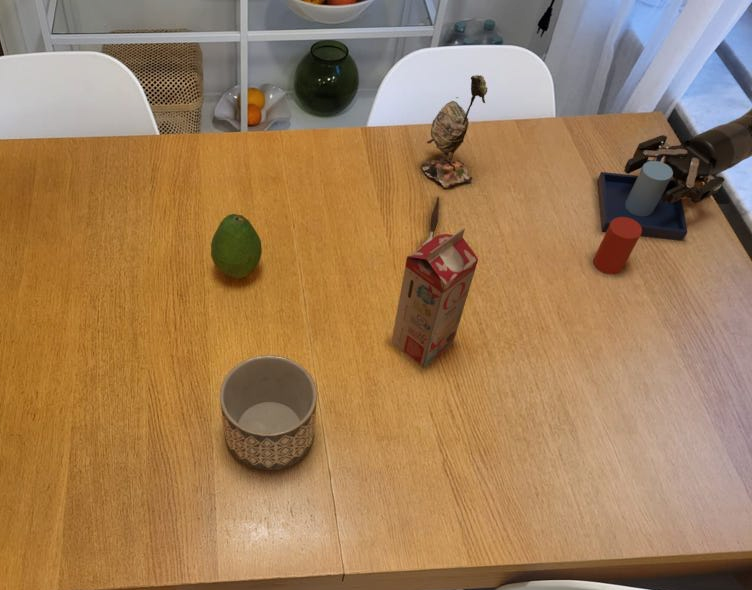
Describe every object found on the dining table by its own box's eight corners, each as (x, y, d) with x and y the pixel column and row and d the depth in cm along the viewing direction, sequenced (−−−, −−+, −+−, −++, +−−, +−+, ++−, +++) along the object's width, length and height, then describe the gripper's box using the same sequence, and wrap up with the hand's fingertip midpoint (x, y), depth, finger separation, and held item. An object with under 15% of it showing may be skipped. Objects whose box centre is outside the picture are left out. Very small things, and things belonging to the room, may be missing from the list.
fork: (445, 200, 133) (447, 191, 132) (434, 264, 125) (436, 255, 123) (430, 197, 134) (432, 189, 132) (418, 261, 125) (420, 253, 123)
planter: (211, 415, 108) (205, 374, 100) (291, 385, 111) (292, 342, 103) (245, 488, 102) (242, 449, 93) (329, 454, 104) (333, 414, 96)
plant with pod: (453, 147, 142) (475, 47, 125) (475, 186, 135) (501, 87, 119) (412, 153, 141) (429, 54, 124) (432, 193, 134) (453, 94, 118)
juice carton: (452, 344, 115) (483, 240, 97) (423, 368, 113) (449, 266, 94) (420, 319, 118) (444, 214, 100) (391, 342, 115) (410, 238, 97)
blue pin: (658, 205, 131) (677, 169, 124) (646, 220, 129) (665, 184, 122) (632, 193, 133) (650, 157, 126) (620, 208, 131) (637, 171, 124)
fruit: (232, 246, 128) (228, 191, 118) (271, 265, 125) (270, 211, 115) (204, 275, 124) (197, 221, 114) (243, 296, 121) (239, 242, 111)
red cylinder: (622, 254, 125) (640, 218, 119) (624, 275, 122) (643, 240, 116) (592, 251, 126) (609, 215, 119) (593, 272, 123) (611, 236, 116)
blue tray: (673, 188, 134) (678, 179, 132) (682, 240, 127) (687, 232, 125) (597, 180, 136) (600, 171, 134) (601, 231, 128) (605, 222, 127)
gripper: (692, 110, 130) (622, 140, 126) (760, 156, 123) (688, 190, 118) (674, 146, 136) (607, 176, 132) (737, 192, 129) (668, 225, 125)
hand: (645, 183), depth 125 cm, fingers open, 8 cm apart
